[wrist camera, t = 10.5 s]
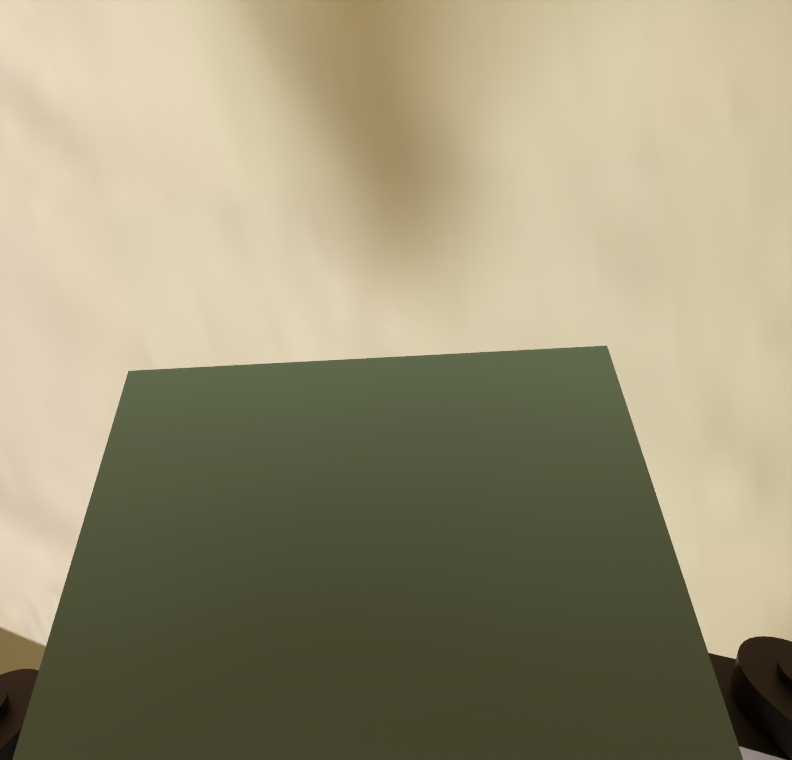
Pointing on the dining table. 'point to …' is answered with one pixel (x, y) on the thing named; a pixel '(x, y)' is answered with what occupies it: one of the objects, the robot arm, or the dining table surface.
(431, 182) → the dining table surface
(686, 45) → the dining table surface
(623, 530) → the green and brown block
